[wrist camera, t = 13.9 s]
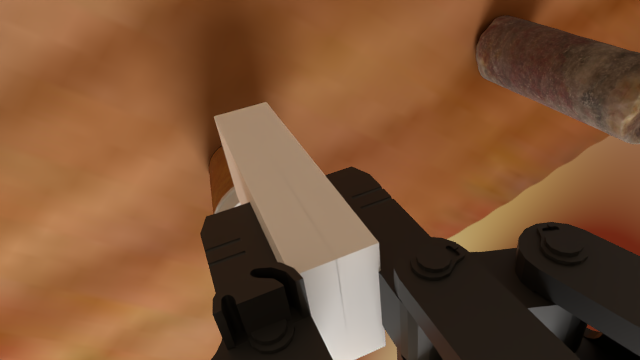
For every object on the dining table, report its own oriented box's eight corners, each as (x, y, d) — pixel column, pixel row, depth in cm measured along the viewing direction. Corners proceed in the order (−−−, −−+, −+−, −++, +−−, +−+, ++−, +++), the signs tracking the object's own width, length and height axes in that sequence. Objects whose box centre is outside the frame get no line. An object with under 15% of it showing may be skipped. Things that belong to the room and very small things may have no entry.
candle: (523, 61, 54) (691, 121, 38) (475, 90, 53) (626, 164, 38) (518, 2, 49) (707, 44, 34) (465, 33, 49) (632, 91, 33)
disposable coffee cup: (175, 184, 44) (191, 257, 35) (225, 108, 42) (256, 164, 33) (250, 215, 50) (281, 286, 40) (297, 149, 48) (342, 207, 38)
